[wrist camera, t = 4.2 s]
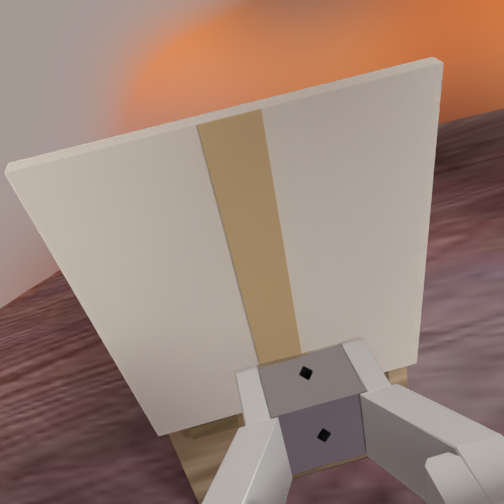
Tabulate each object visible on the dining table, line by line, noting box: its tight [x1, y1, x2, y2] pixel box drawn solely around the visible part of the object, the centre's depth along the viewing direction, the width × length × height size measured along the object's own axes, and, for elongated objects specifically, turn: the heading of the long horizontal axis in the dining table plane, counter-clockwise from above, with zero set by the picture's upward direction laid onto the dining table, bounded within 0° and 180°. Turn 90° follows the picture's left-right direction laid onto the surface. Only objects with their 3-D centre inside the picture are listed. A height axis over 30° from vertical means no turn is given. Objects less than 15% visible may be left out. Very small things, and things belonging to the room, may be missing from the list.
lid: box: [4, 57, 443, 437], centre depth 23 cm, size 19×17×1 cm
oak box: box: [168, 366, 408, 504], centre depth 39 cm, size 19×16×9 cm
